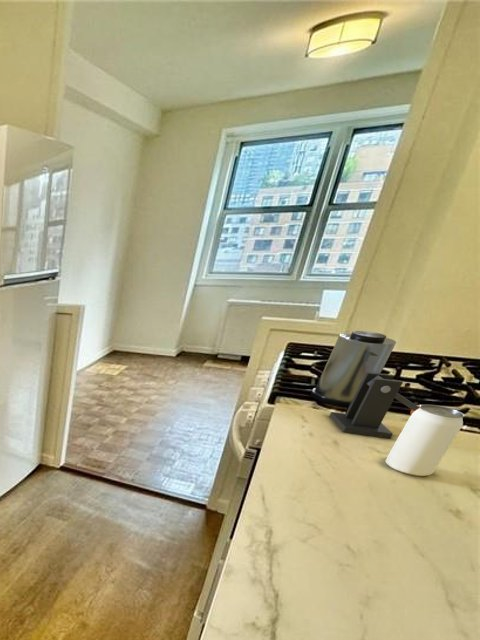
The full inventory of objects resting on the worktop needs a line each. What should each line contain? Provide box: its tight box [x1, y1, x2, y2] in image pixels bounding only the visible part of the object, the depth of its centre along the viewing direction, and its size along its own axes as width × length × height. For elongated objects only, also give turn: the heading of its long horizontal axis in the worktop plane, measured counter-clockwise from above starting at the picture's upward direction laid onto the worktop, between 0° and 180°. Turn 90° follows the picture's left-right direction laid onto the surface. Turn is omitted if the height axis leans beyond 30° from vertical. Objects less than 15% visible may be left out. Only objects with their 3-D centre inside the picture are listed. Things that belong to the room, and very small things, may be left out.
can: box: [385, 404, 466, 477], centre depth 89 cm, size 6×6×12 cm
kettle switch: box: [367, 375, 422, 416], centre depth 102 cm, size 13×3×3 cm
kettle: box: [309, 330, 397, 409], centre depth 117 cm, size 11×14×17 cm
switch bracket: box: [328, 372, 404, 439], centre depth 105 cm, size 8×9×12 cm
